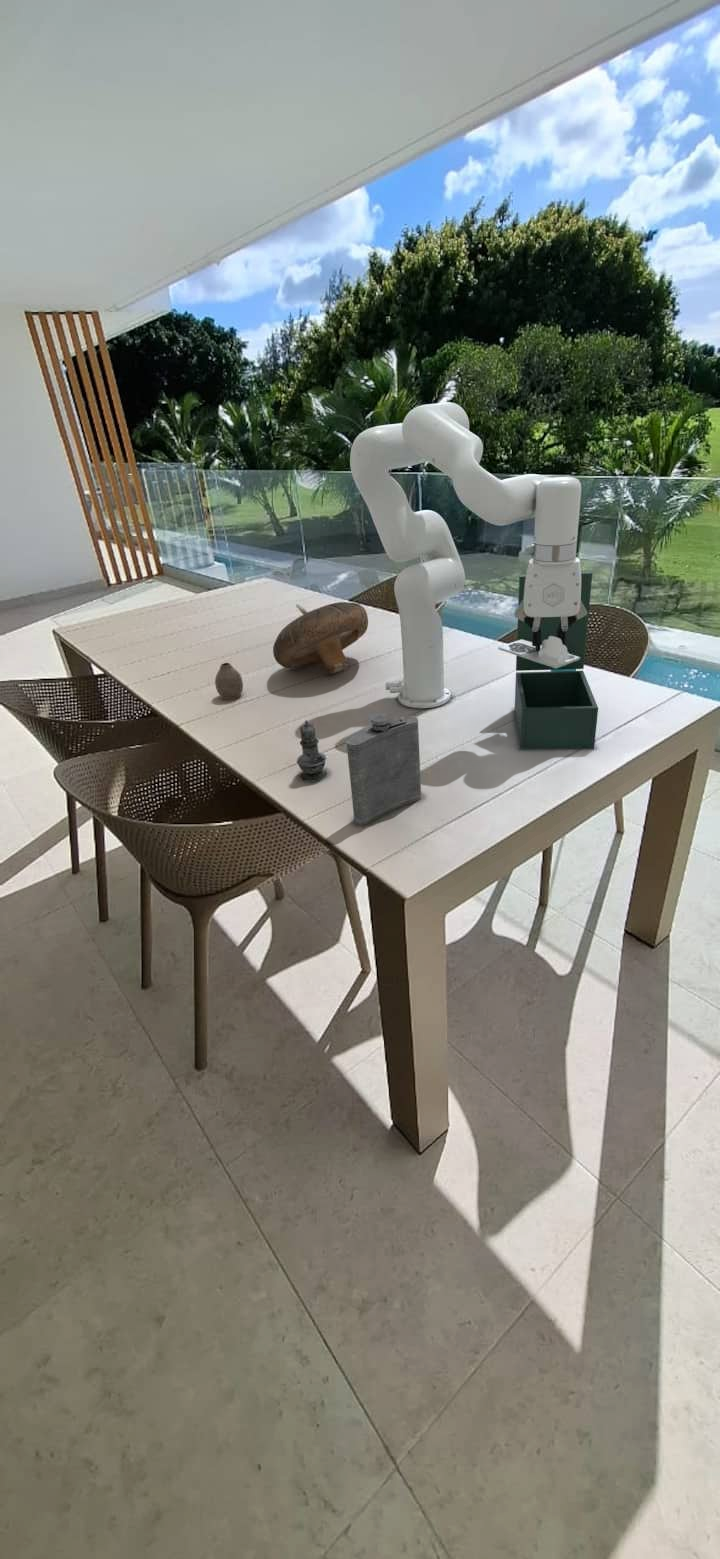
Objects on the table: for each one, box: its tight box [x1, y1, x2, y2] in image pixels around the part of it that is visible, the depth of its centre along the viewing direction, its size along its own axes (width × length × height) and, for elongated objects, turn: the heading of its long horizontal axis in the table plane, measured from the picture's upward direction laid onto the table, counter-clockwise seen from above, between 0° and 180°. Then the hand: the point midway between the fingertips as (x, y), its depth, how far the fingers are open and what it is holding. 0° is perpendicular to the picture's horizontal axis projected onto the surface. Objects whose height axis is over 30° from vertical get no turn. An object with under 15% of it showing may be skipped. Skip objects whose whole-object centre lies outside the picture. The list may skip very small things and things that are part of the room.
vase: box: [214, 662, 244, 700], centre depth 171 cm, size 7×7×9 cm
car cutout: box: [497, 636, 580, 668], centre depth 130 cm, size 15×7×4 cm, turn 35°
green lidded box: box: [514, 670, 599, 750], centre depth 140 cm, size 20×14×9 cm
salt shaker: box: [296, 720, 328, 783], centre depth 130 cm, size 6×6×12 cm
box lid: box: [515, 571, 593, 672], centre depth 143 cm, size 21×14×5 cm
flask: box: [345, 712, 422, 826], centre depth 116 cm, size 4×14×18 cm, turn 125°
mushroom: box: [272, 601, 369, 675], centre depth 180 cm, size 28×23×25 cm
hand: (547, 648), depth 131 cm, fingers closed on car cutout, 3 cm apart
